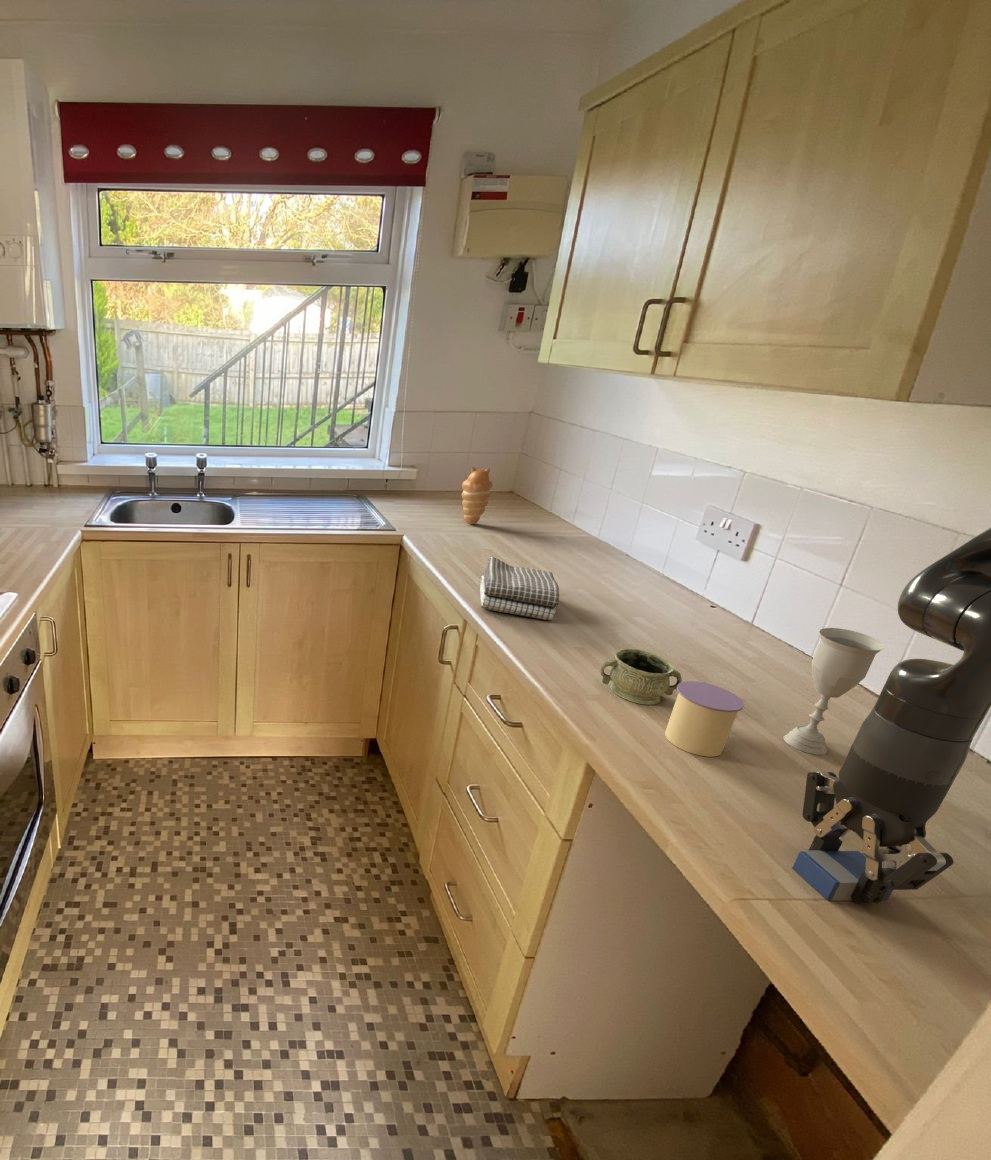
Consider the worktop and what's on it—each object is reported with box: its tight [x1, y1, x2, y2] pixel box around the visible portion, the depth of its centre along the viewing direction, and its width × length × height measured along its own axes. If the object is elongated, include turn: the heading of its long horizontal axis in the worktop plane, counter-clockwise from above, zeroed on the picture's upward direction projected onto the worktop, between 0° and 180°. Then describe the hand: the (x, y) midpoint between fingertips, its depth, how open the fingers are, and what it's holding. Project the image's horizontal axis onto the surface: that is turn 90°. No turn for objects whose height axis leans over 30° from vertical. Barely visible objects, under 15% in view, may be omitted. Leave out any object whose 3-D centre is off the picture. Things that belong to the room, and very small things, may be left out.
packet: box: [791, 850, 894, 902], centre depth 72 cm, size 7×5×3 cm, turn 92°
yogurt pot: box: [664, 680, 745, 758], centre depth 95 cm, size 8×8×8 cm
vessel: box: [599, 648, 683, 706], centre depth 108 cm, size 12×9×6 cm
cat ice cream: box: [461, 466, 493, 525], centre depth 199 cm, size 9×8×18 cm
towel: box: [479, 556, 560, 621], centre depth 143 cm, size 15×18×8 cm
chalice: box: [782, 627, 886, 756], centre depth 93 cm, size 7×7×18 cm
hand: (839, 881), depth 72 cm, fingers closed on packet, 4 cm apart
